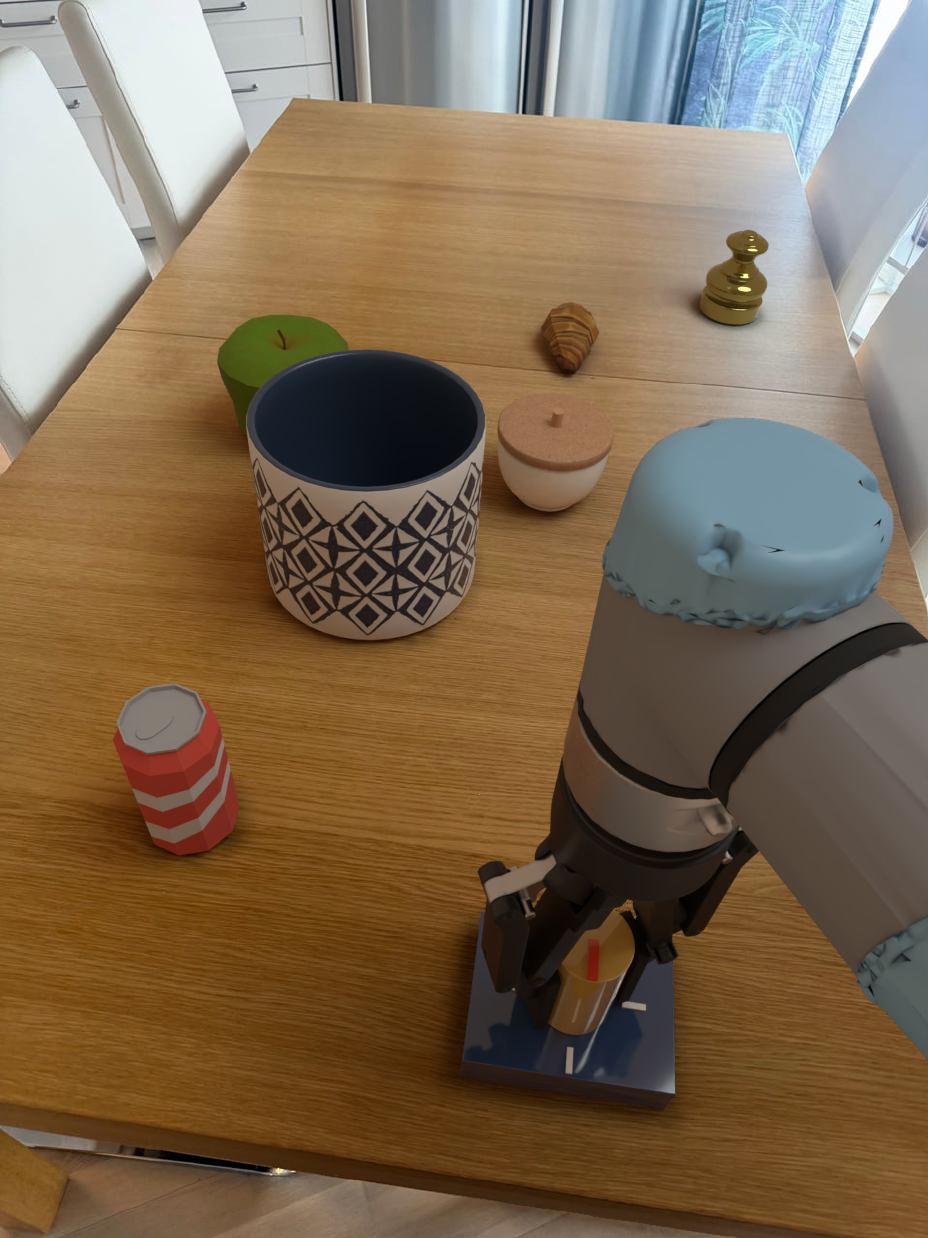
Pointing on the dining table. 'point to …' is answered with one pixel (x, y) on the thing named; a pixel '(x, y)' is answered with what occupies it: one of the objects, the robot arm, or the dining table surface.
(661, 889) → the robot arm
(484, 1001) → the valve plate
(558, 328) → the croissant
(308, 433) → the planter
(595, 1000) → the valve knob
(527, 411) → the trinket box
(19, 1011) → the dining table surface
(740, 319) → the gold metal turned piece
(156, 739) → the beverage can
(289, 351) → the apple
